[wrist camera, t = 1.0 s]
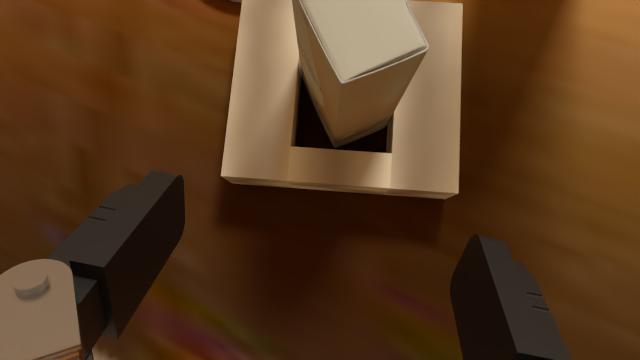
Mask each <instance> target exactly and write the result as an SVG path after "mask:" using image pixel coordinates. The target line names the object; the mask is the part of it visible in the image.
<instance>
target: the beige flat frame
mask: <svg viewBox="0 0 640 360" xmlns="http://www.w3.org/2000/svg"><path fill="white" fill-rule="evenodd" d="M406 1H407V3H408V5H409V8H410V9H411V11H412V13H413V15H414V17H415V19H416V21H417V23H418V25H419V27H420V29H421V31H422V33H423V35H424V37H425V39H426V41H427V42H428V45H429V49H428V51H427V53H426V55H425V56H424V58H423V60H422V62H421V64H420V66H419V67H418V69H417V71H416V73H415V75H414V76H413V78H412V80H411V82H410V84H409V85H408V87H407V89H406V91H405V93H404V95H403V96H402V98H401V100H400V102H399V104H398V105H397V107H396V109H395V111H394V113H393V115H392V116H391V118H390V120H389V122H388V126H387V145H386V153H378V152H363V151H349V150H335V149H321V148H307V147H295V145H296V135H297V124H298V113H299V102H300V91H301V80H302V74H301V66H300V58H299V50H298V44H297V36H296V28H295V21H294V14H293V5H292V0H242V6H241V15H240V23H239V31H238V39H237V47H236V56H235V64H234V72H233V80H232V89H231V97H230V105H229V113H228V121H227V130H226V138H225V146H224V154H223V162H222V171H221V176H222V177H223V178H225V179H226V180H228V181H229V182H231V183H233V184H246V185H259V186H273V187H286V188H300V189H313V190H327V191H340V192H354V193H367V194H380V195H394V196H407V197H421V198H434V199H447V198H449V197H452V196H454V195H456V194H458V193H459V152H460V105H461V58H462V11H463V4H461V3H443V2H426V1H408V0H406Z"/></svg>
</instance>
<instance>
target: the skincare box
mask: <svg viewBox="0 0 640 360" xmlns="http://www.w3.org/2000/svg"><path fill="white" fill-rule="evenodd" d="M292 5H293V14H294V21H295V28H296V36H297V44H298V50H299V58H300V66H301V74H302V79H303V82H304V84H305V87H306V89H307V92H308V94H309V96H310V99H311V101H312V103H313V106H314V108H315V110H316V112H317V115H318V117H319V119H320V121H321V123H322V125H323V127H324V129H325V131H326V133H327V135H328V137H329V139H330V141H331V143H332V145H333V147H334V148H338V147H340V146H343V145H345V144H348V143H350V142H353V141H355V140H358V139H360V138H363V137H365V136H367V135H370V134H372V133H374V132H377V131H379V130H381V129H383V128H385V127H386V126H387V124H388V122H389V120H390V118H391V116H392V115H393V113H394V111H395V109H396V107H397V105H398V104H399V102H400V100H401V98H402V96H403V95H404V93H405V91H406V89H407V87H408V85H409V84H410V82H411V80H412V78H413V76H414V75H415V73H416V71H417V69H418V67H419V66H420V64H421V62H422V60H423V58H424V56H425V55H426V53H427V51H428V49H429V45H428V42H427V41H426V39H425V37H424V35H423V33H422V31H421V29H420V27H419V25H418V23H417V21H416V19H415V17H414V15H413V13H412V11H411V9H410V8H409V5H408V3H407V1H406V0H292Z"/></svg>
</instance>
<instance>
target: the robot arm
mask: <svg viewBox="0 0 640 360" xmlns="http://www.w3.org/2000/svg"><path fill="white" fill-rule="evenodd" d="M184 225H185V203H184V181H183V177H182V176H181V175H177V174H172V173H167V172H162V171H157V170H152V171H151V172H150V173H149V174H148V175H147V176H146V177H145V178H144V179H143V180H142V181H141V182H140V184H139V185H138V186H137V185H132V184H129V185H127V186H125V187H123V188H121V189H119V190H117V191H115V192H113V193H111V194H110V195H109V196H108V197H107V198H106V199H105V200H104V202H103V203H102V204H101V205H100V206H99V208H97V209H96V210H95V211H94V212H93V213H92V214H91V215H90V216H89V218H88V219H86V220H85V221H84V222H83V223H82V224H81V225H80V226H79V227H78V228H77V229H76V230H75V231H74V232H73V233H72V234H71V235H70V236H69V237H68V238H67V239H66V240H65V241H64V242H63V243H62V244H61V245H60V246H59V247H58V248H57V249H56V250H55V251H54V252H53V253H52V254H51V255H50V256H49V257H48V258H47V259H39V260H33V261H28V262H25V263H22V264H19V265H17V266H15V267H13V268H11V269H9V270H7V271H6V272H4V273H3V274H2V275H0V360H93V353H92V348H93V346H94V345H95V343H96V342H97V340H98V339H99V338H100V336H105V337H110V338H115V339H118V338H119V336H120V335H121V333H122V332H123V330H124V328H125V327H126V325H127V324H128V322H129V320H130V319H131V317H132V316H133V314H134V312H135V311H136V309H137V308H138V306H139V304H140V303H141V301H142V300H143V298H144V296H145V295H146V293H147V292H148V290H149V288H150V287H151V285H152V284H153V282H154V280H155V279H156V277H157V276H158V274H159V272H160V271H161V269H162V268H163V266H164V264H165V263H166V261H167V260H168V258H169V256H170V255H171V253H172V252H173V250H174V249H175V247H176V245H177V244H178V242H179V240H180V238H181V236H182V233H183V230H184ZM450 295H451V301H452V306H453V311H454V315H455V320H456V325H457V330H458V335H459V340H460V345H461V350H462V355H463V360H572V359H571V357H570V355H569V352H568V350H567V348H566V346H565V343H564V341H563V339H562V337H561V335H560V332H559V330H558V328H557V326H556V324H555V321H554V319H553V317H552V315H551V313H549V311H548V310H549V308H548V306H547V304H546V301H545V299H544V298H542V293H541V290H540V288H539V286H538V284H537V282H536V279H535V278H534V277H533V275H532V274H531V273H530V272H529V271H528V270H527V269H526V268H525V267H524V265H523V264H522V263H521V262H517V261H513V259H512V256H511V254H510V251H509V249H508V247H507V244H506V242H505V241H504V240H502V239H497V238H492V237H487V236H482V235H477V234H474V235H473V236H472V237H471V238H470V240H469V241H468V244H467V246H466V248H465V250H464V252H463V254H462V256H461V258H460V260H459V262H458V265H457V267H456V269H455V271H454V273H453V276H452V279H451V286H450Z"/></svg>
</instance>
